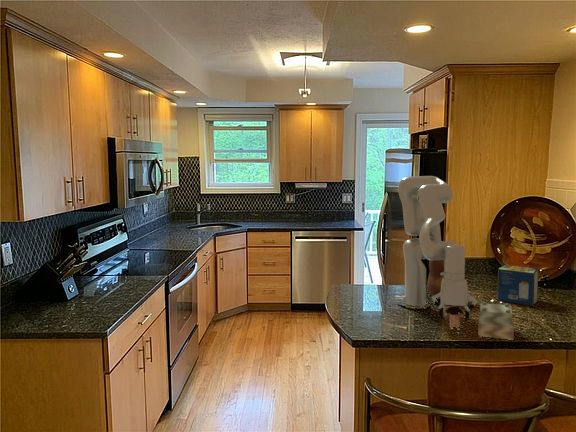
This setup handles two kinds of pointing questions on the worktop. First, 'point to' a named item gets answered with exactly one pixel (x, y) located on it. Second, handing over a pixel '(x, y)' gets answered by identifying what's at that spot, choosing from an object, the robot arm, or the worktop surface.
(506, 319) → the grey studded block
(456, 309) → the grandmother figurine
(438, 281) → the butternut squash
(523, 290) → the protein box
